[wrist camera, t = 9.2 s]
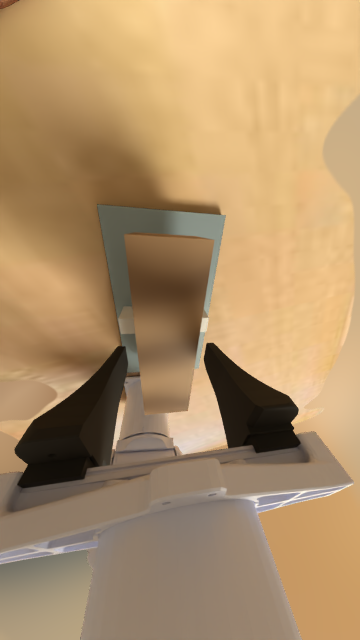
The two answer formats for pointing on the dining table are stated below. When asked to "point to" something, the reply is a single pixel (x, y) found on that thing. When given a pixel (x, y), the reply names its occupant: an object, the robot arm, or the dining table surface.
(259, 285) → the dining table surface
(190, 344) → the walnut bar
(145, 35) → the dining table surface
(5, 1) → the wooden tablet
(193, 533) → the robot arm
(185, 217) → the ridge stand
